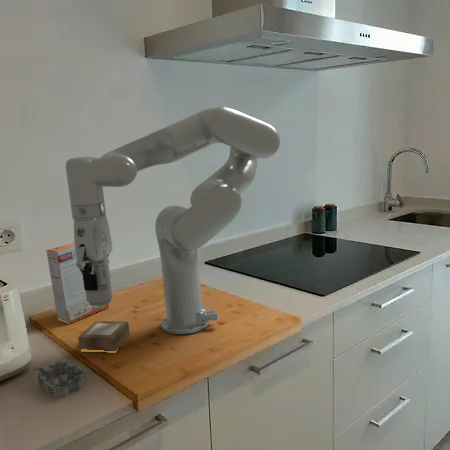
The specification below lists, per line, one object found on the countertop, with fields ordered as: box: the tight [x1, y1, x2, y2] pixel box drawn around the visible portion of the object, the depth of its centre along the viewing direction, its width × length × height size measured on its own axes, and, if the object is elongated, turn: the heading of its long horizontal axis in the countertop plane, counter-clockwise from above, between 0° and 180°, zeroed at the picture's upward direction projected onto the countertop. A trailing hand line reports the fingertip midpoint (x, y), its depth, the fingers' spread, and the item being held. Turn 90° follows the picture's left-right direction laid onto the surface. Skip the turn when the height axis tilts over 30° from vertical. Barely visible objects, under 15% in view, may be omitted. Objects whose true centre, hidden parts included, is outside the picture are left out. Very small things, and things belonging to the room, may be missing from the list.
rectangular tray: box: [78, 320, 131, 351], centre depth 117 cm, size 9×9×4 cm
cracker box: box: [46, 241, 110, 323], centre depth 135 cm, size 14×6×21 cm, turn 141°
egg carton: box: [32, 358, 87, 399], centre depth 99 cm, size 11×8×4 cm
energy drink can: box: [85, 247, 113, 306], centre depth 113 cm, size 6×6×15 cm
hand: (97, 284), depth 114 cm, fingers closed on energy drink can, 6 cm apart
